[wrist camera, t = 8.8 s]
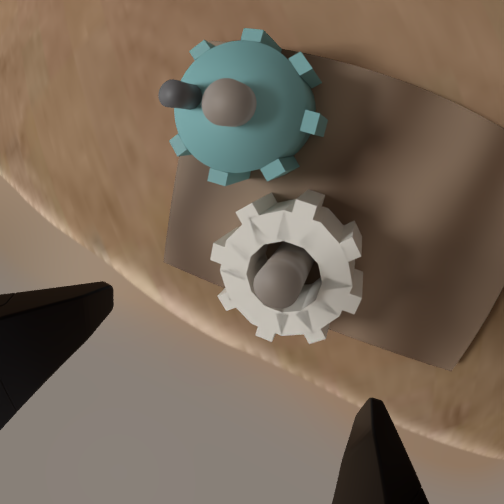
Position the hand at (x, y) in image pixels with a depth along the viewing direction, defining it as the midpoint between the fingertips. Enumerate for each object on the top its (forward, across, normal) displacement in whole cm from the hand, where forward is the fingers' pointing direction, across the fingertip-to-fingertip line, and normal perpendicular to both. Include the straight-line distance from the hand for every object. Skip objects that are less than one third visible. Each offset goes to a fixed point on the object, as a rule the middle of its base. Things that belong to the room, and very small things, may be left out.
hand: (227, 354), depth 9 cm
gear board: (+10, -2, -3) cm, 10 cm away
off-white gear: (+9, 0, 0) cm, 9 cm away
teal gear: (+9, +4, -7) cm, 12 cm away
